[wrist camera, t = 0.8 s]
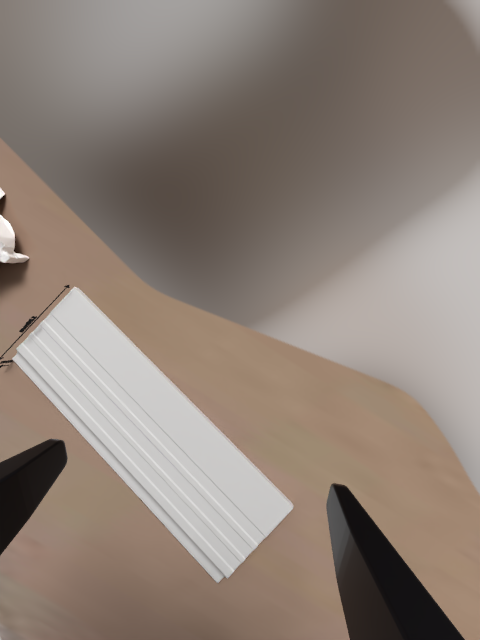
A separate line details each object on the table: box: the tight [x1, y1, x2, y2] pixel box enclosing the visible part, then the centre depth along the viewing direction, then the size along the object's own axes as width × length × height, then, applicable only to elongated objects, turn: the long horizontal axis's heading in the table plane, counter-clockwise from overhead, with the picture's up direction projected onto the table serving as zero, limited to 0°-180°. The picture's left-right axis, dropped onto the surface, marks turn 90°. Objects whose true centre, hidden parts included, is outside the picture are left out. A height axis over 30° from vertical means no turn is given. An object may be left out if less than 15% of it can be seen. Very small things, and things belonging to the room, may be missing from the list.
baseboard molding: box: [0, 285, 293, 583], centre depth 23 cm, size 31×3×12 cm
